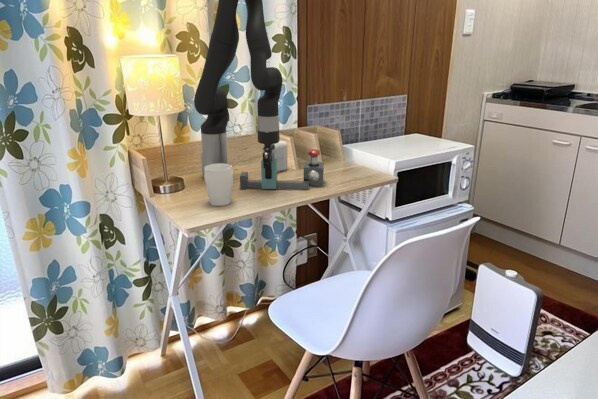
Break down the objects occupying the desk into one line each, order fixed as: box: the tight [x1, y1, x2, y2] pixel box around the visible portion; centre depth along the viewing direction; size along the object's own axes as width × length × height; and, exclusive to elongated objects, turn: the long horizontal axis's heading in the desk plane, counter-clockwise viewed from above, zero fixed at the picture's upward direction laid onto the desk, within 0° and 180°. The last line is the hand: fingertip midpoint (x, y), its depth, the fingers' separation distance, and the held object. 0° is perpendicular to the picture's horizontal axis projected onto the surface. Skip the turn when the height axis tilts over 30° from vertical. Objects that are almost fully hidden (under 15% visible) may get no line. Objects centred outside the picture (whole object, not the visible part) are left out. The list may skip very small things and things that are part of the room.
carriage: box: [260, 158, 278, 190], centre depth 162 cm, size 5×4×10 cm
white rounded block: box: [275, 140, 288, 173], centre depth 182 cm, size 10×4×12 cm, turn 134°
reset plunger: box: [307, 148, 321, 166], centre depth 166 cm, size 4×4×7 cm
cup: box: [204, 163, 234, 207], centre depth 148 cm, size 9×9×12 cm
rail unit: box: [239, 161, 325, 191], centre depth 166 cm, size 29×13×7 cm, turn 86°
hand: (269, 176), depth 163 cm, fingers closed on carriage, 4 cm apart
